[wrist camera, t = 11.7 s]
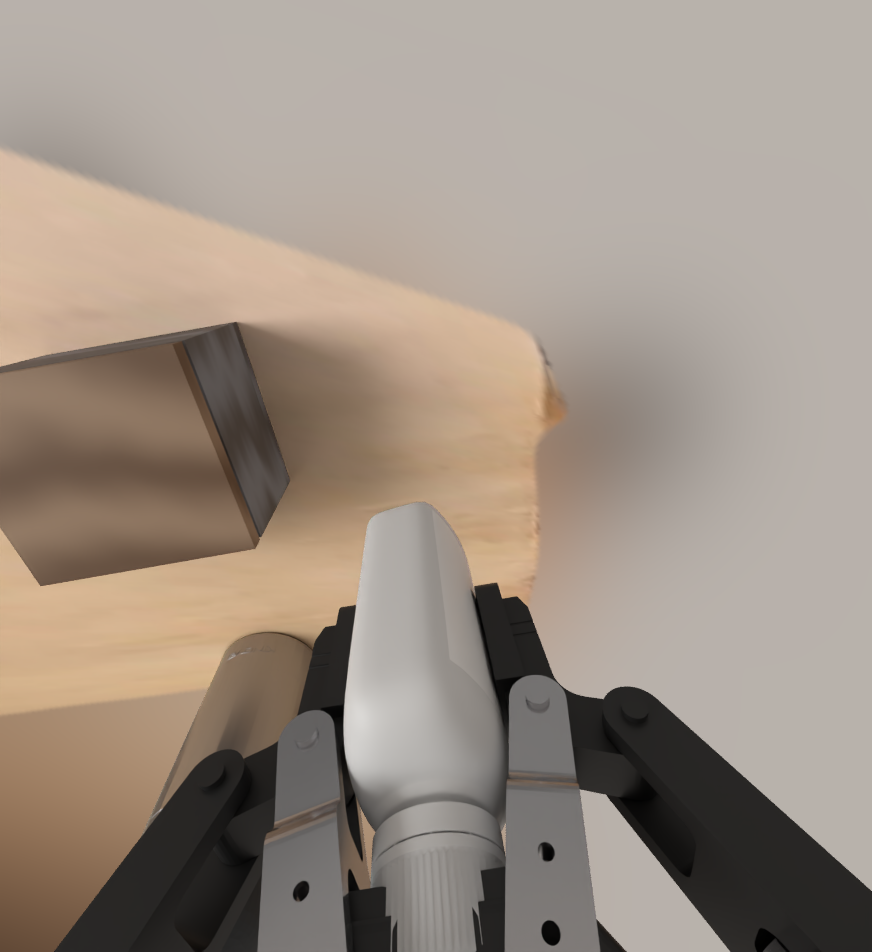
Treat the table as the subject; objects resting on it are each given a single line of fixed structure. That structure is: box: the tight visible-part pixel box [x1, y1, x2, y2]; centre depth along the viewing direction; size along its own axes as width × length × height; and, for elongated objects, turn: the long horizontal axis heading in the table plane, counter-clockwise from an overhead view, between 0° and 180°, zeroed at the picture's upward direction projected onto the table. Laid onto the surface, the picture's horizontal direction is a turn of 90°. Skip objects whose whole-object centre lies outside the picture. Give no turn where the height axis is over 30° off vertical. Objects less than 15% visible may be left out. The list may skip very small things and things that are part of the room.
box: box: [0, 322, 290, 537], centre depth 29 cm, size 12×13×8 cm
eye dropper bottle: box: [343, 502, 509, 952], centre depth 11 cm, size 4×6×12 cm
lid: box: [0, 341, 260, 586], centre depth 24 cm, size 12×13×1 cm
